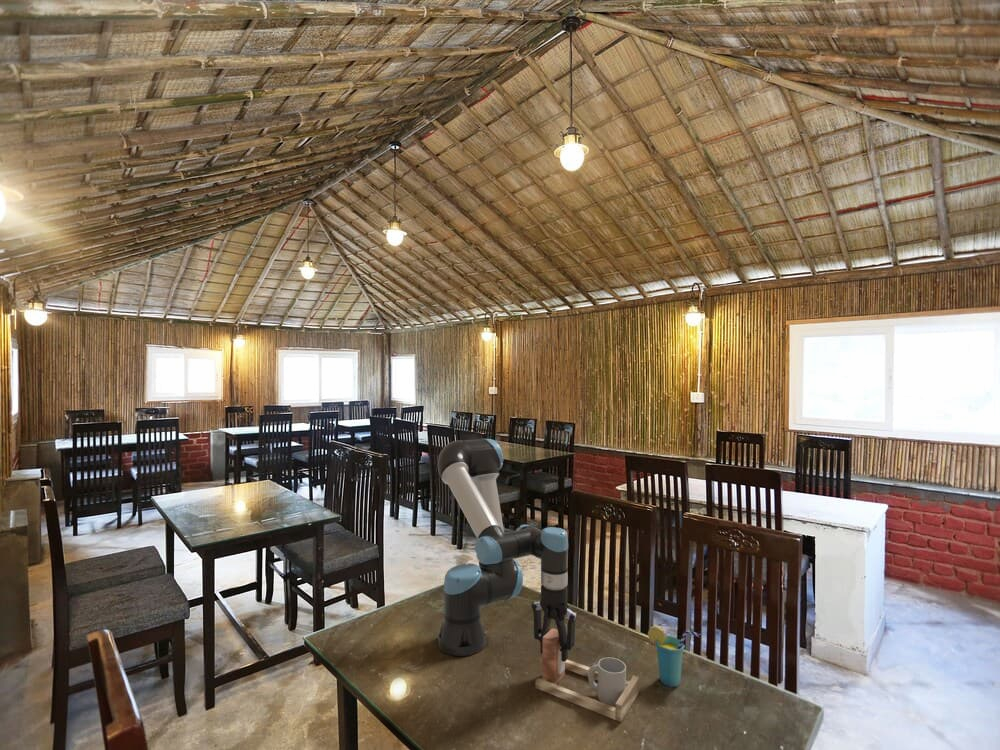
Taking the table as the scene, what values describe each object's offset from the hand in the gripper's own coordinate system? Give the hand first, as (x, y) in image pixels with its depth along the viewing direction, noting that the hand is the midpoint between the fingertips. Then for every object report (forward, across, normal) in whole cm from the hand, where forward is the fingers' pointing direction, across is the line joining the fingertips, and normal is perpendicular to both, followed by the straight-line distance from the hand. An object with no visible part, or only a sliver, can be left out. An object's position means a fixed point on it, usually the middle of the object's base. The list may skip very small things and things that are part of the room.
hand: (553, 668), depth 137 cm
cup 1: (+3, +16, 0) cm, 16 cm away
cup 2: (+3, +29, +17) cm, 33 cm away
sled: (+3, +10, 0) cm, 10 cm away
